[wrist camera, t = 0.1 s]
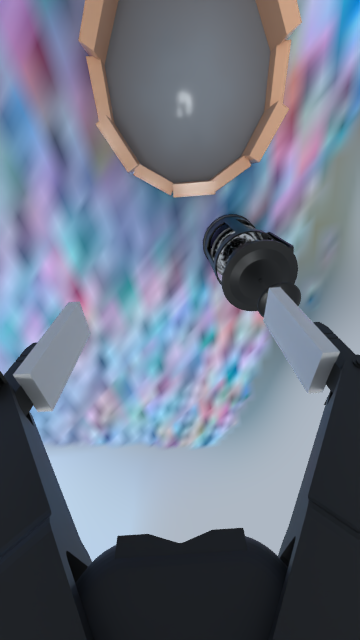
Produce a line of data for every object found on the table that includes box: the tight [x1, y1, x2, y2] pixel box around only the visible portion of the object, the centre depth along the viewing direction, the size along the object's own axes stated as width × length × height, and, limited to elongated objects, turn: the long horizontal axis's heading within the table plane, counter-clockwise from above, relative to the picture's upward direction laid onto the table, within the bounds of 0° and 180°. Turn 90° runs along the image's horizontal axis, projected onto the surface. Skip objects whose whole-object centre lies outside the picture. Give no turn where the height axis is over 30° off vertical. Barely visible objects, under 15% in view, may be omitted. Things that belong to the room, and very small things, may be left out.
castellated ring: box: [78, 0, 302, 198], centre depth 28 cm, size 24×24×6 cm
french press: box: [203, 214, 301, 317], centre depth 31 cm, size 12×9×23 cm
